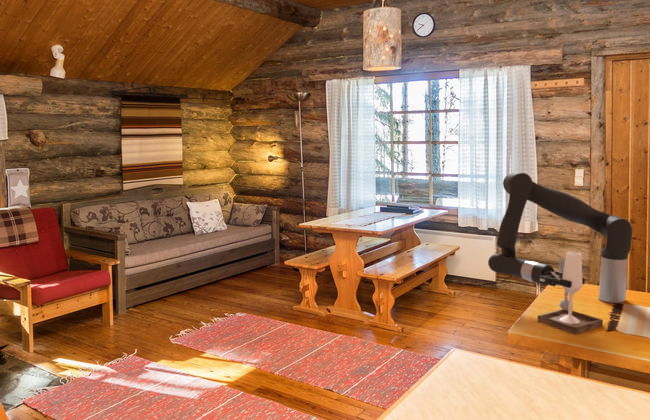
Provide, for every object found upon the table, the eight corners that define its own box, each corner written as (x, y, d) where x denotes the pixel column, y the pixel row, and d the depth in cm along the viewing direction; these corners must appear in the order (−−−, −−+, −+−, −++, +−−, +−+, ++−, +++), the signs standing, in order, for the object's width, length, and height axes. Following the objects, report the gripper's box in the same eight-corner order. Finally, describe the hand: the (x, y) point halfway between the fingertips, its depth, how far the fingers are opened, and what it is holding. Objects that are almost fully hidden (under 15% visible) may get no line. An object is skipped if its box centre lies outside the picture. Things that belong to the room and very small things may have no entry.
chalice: (578, 309, 216) (581, 262, 213) (560, 309, 216) (562, 262, 213) (570, 303, 223) (573, 258, 220) (552, 303, 223) (555, 258, 220)
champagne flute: (581, 324, 196) (585, 256, 192) (560, 322, 198) (564, 255, 194) (578, 318, 202) (583, 251, 198) (558, 316, 204) (562, 250, 200)
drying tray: (564, 314, 210) (564, 308, 210) (602, 325, 198) (602, 319, 197) (537, 321, 202) (537, 315, 202) (575, 334, 190) (575, 328, 189)
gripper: (524, 265, 205) (565, 275, 192) (550, 260, 213) (591, 269, 199) (523, 285, 207) (563, 297, 193) (549, 279, 214) (589, 290, 200)
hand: (577, 283), depth 196 cm, fingers closed on champagne flute, 6 cm apart
